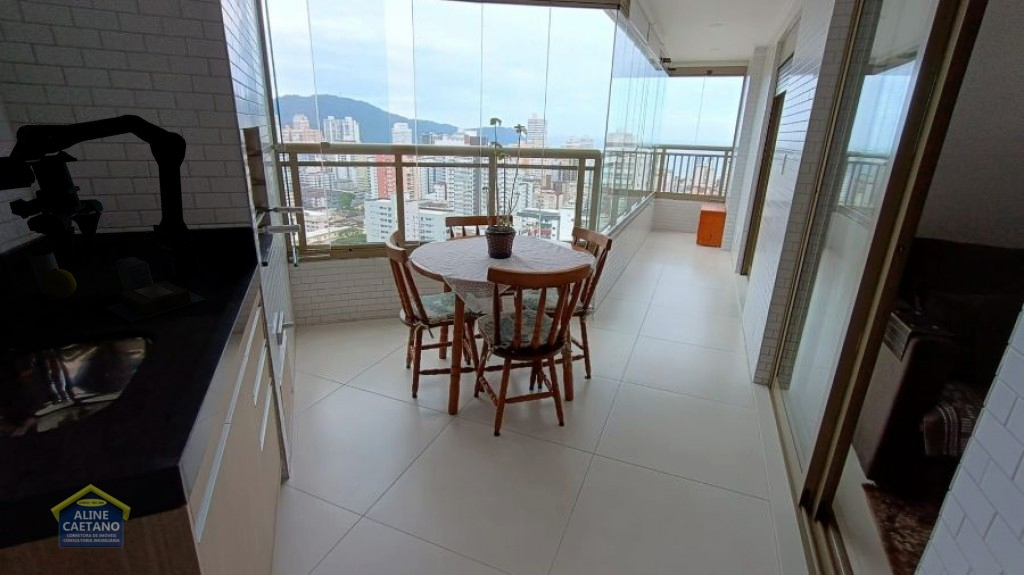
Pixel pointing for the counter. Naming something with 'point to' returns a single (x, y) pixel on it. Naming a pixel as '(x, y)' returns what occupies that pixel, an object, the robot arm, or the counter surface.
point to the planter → (42, 266)
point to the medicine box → (133, 273)
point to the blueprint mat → (135, 316)
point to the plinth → (154, 297)
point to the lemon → (60, 283)
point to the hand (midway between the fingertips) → (81, 249)
